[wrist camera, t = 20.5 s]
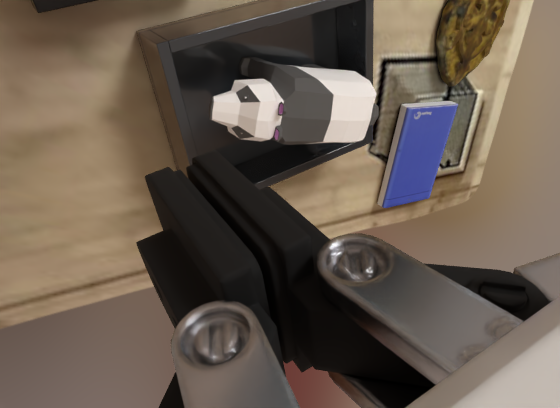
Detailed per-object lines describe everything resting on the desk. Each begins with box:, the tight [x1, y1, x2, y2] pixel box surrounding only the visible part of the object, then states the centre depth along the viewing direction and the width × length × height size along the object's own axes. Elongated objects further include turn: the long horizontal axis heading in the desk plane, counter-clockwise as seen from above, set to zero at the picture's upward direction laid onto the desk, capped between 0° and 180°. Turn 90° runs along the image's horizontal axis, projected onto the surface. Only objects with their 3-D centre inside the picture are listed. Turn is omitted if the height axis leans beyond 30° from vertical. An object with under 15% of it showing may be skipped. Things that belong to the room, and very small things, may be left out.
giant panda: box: [208, 57, 378, 145], centre depth 34 cm, size 15×6×10 cm, turn 79°
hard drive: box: [377, 101, 458, 208], centre depth 53 cm, size 2×8×12 cm
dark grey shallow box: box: [136, 0, 374, 190], centre depth 37 cm, size 18×14×5 cm
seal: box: [436, 0, 510, 86], centre depth 46 cm, size 9×5×15 cm
